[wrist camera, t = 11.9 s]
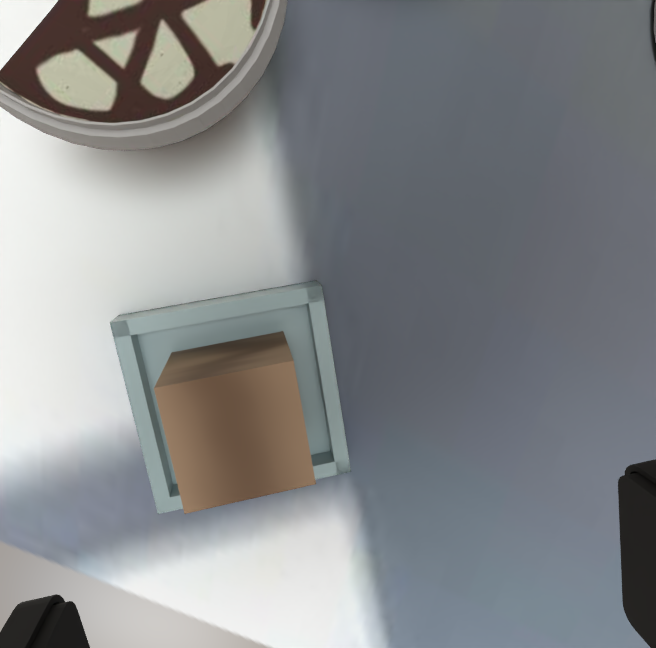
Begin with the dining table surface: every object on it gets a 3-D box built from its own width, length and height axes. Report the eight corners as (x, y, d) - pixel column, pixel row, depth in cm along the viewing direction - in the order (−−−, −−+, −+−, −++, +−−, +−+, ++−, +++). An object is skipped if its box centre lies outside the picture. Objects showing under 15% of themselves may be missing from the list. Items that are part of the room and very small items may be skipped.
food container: (165, 219, 28) (125, 223, 18) (64, 132, 26) (-39, 86, 17) (326, 36, 27) (373, -61, 18) (231, -64, 26) (226, -231, 16)
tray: (316, 280, 30) (321, 285, 28) (344, 455, 32) (350, 471, 30) (118, 315, 28) (110, 322, 26) (163, 495, 31) (158, 514, 29)
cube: (283, 331, 29) (293, 360, 23) (301, 432, 31) (316, 484, 25) (171, 352, 29) (153, 388, 23) (195, 455, 30) (184, 513, 24)
